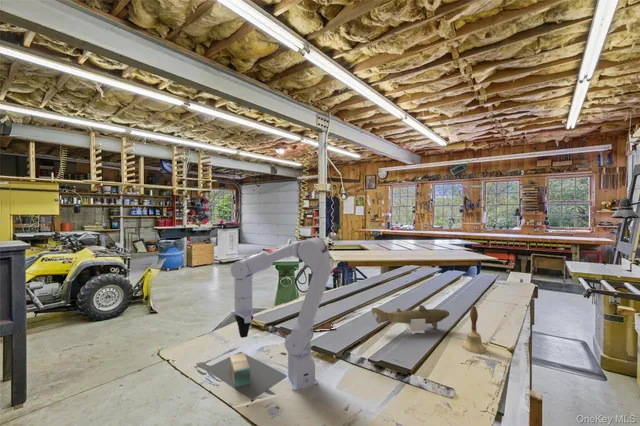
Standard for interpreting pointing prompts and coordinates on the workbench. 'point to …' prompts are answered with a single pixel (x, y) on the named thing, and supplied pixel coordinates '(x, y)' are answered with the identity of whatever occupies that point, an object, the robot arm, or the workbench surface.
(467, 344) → the hand bell
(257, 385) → the rubber mat
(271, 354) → the workbench surface
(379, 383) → the workbench surface
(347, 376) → the workbench surface
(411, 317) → the wood carving
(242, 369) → the beech block
